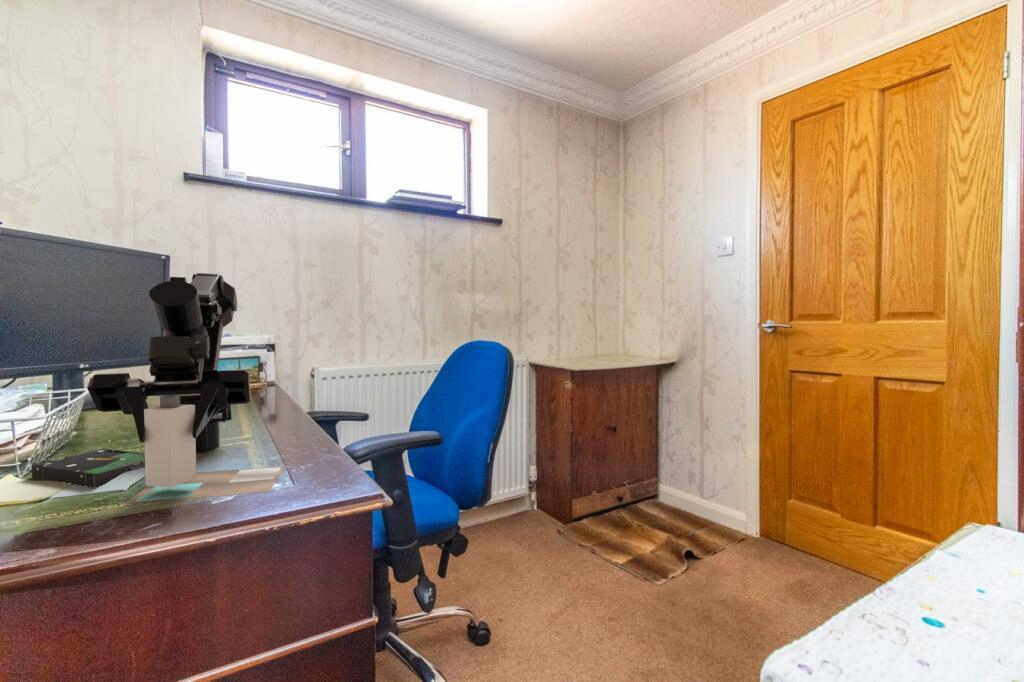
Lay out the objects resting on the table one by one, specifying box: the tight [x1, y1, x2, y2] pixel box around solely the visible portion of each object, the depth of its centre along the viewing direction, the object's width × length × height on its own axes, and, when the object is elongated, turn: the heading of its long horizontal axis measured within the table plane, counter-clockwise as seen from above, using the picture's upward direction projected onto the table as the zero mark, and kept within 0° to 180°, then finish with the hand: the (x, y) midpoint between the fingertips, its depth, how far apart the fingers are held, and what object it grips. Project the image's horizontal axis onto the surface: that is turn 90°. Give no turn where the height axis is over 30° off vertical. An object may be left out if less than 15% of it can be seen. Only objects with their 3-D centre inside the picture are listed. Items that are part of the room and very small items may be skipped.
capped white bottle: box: [144, 395, 197, 488], centre depth 63 cm, size 4×4×12 cm
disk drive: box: [31, 448, 145, 489], centre depth 75 cm, size 10×3×15 cm
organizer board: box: [124, 465, 286, 505], centre depth 67 cm, size 12×17×1 cm
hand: (168, 438), depth 62 cm, fingers closed on capped white bottle, 5 cm apart
